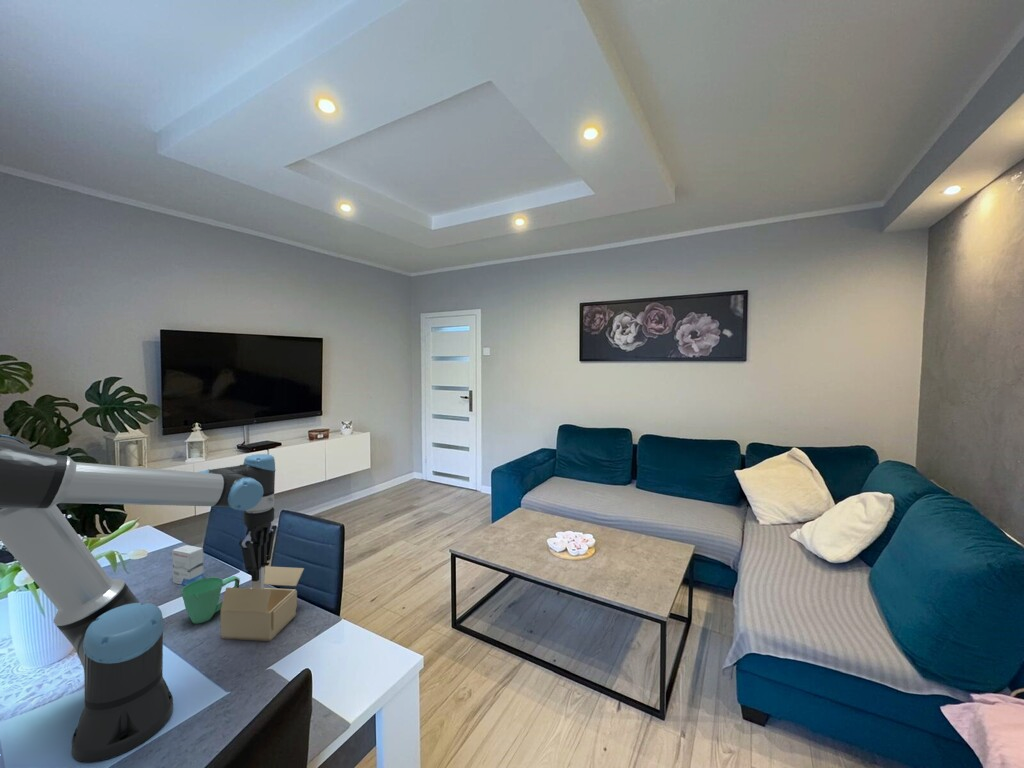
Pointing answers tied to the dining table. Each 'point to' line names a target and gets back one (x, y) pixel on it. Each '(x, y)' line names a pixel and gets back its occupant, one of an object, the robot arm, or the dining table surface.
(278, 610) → the carton
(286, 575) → the flap far
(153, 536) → the dining table surface
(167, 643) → the dining table surface
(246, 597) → the flap near
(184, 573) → the ink box
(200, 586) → the mug
